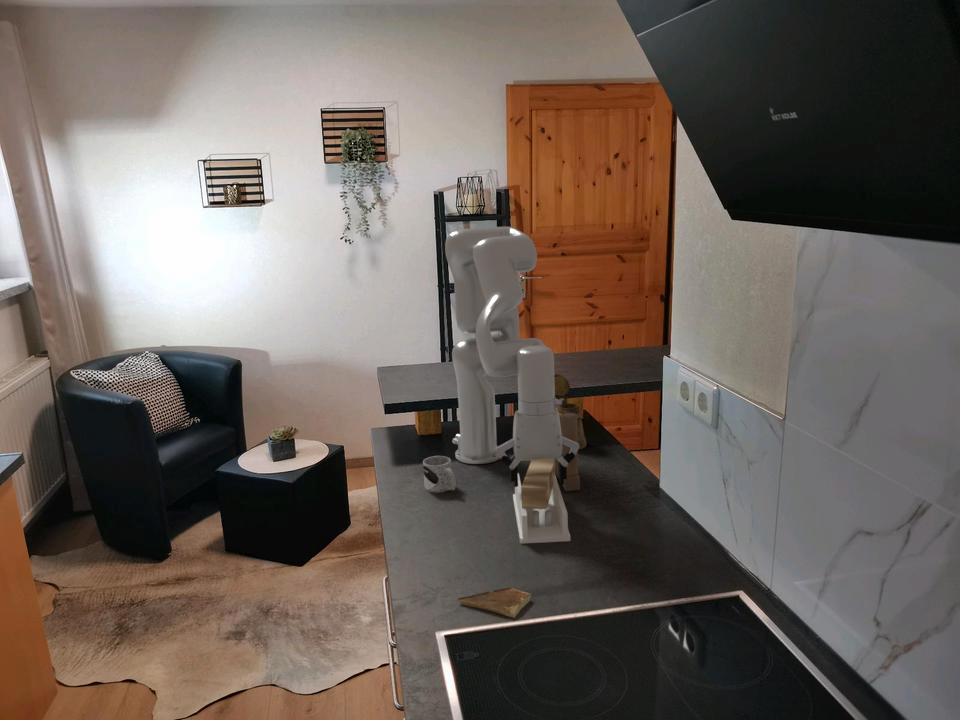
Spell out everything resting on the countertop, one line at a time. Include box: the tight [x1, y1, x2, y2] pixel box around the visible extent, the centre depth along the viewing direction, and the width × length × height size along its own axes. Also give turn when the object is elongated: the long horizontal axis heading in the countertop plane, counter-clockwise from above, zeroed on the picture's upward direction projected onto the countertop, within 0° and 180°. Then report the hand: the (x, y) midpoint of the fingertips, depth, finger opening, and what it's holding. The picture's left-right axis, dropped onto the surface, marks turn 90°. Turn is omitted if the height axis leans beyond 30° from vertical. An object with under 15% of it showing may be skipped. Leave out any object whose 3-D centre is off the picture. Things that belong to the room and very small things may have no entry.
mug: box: [422, 455, 457, 494], centre depth 176 cm, size 10×7×7 cm, turn 39°
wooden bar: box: [521, 459, 556, 509], centre depth 157 cm, size 16×5×4 cm, turn 168°
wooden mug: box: [554, 373, 587, 451], centre depth 202 cm, size 9×14×18 cm, turn 16°
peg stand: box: [512, 472, 571, 544], centre depth 159 cm, size 22×10×6 cm, turn 2°
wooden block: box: [555, 413, 581, 492], centre depth 175 cm, size 4×11×18 cm, turn 6°
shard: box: [457, 587, 531, 619], centre depth 129 cm, size 11×8×2 cm
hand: (538, 483), depth 158 cm, fingers open, 9 cm apart
